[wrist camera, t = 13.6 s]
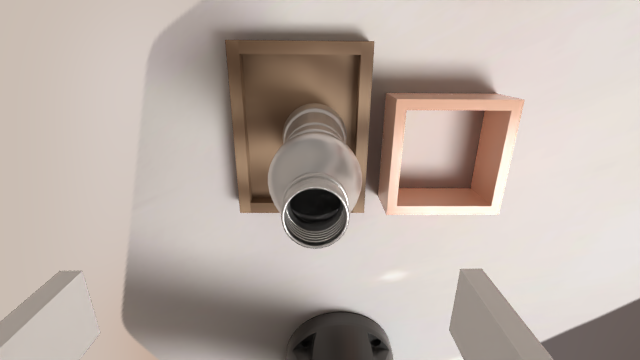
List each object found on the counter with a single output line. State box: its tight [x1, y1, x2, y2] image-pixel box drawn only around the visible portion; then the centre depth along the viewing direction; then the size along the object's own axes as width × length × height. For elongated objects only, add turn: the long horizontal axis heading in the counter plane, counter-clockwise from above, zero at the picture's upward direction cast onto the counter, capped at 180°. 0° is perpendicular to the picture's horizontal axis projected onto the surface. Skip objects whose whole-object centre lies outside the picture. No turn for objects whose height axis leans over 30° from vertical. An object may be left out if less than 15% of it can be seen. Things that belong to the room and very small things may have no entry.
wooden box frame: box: [378, 93, 524, 215], centre depth 35 cm, size 12×12×5 cm
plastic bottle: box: [268, 103, 362, 249], centre depth 27 cm, size 6×7×20 cm
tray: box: [225, 40, 374, 213], centre depth 36 cm, size 18×14×2 cm
